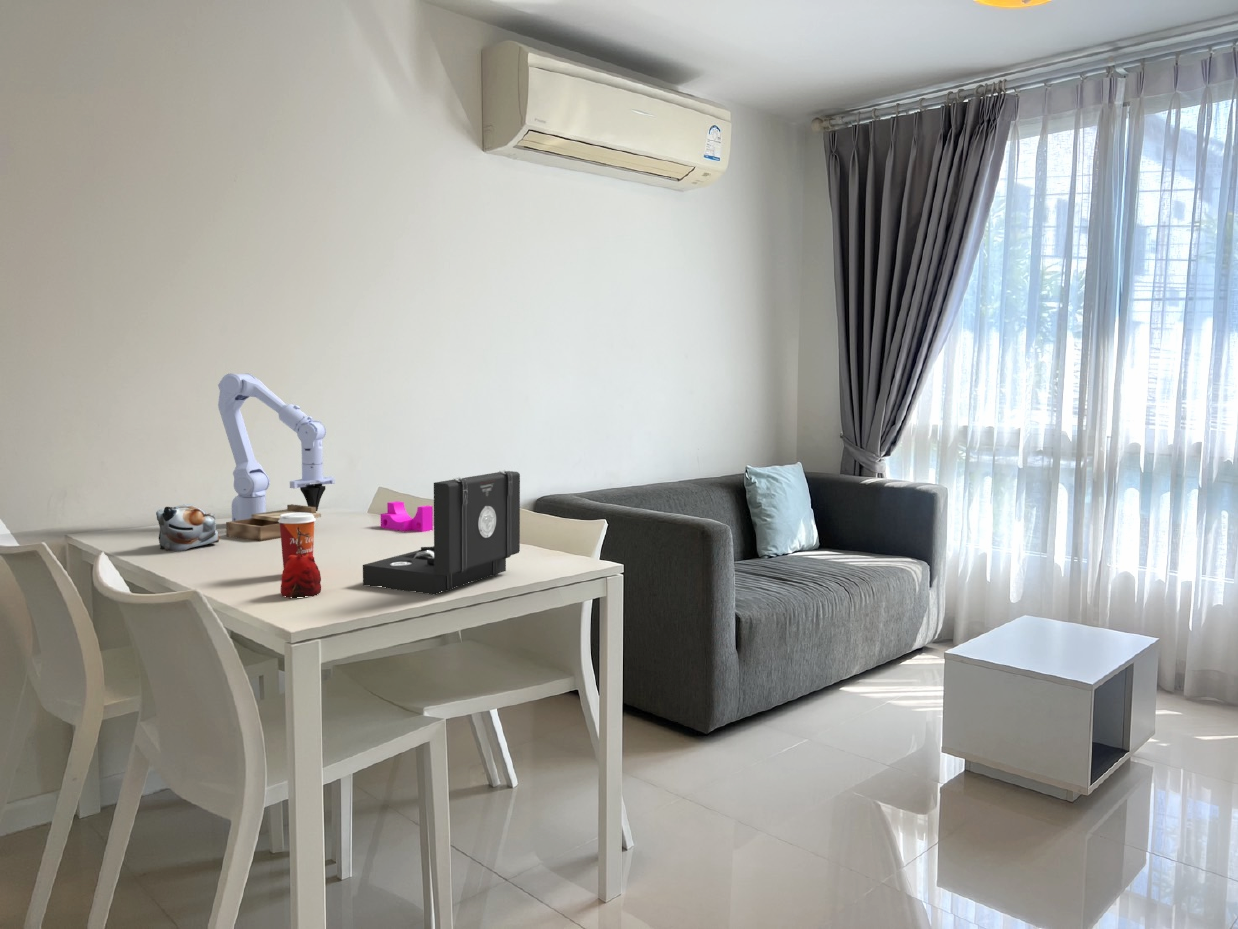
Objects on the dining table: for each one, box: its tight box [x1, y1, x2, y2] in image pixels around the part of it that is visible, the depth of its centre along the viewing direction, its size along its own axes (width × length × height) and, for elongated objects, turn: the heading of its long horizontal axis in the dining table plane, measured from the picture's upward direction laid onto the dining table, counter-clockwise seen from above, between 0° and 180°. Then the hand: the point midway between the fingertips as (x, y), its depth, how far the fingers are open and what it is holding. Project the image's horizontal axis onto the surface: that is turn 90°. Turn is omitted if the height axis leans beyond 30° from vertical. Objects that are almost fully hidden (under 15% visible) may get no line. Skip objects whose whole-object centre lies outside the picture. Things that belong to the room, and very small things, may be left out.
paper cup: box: [278, 512, 317, 569], centre depth 197 cm, size 8×8×14 cm
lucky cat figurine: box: [155, 504, 220, 552], centre depth 228 cm, size 15×12×14 cm
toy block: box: [380, 500, 434, 533], centre depth 260 cm, size 15×6×8 cm, turn 53°
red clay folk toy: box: [280, 526, 322, 598], centre depth 179 cm, size 8×7×15 cm
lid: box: [251, 503, 322, 522], centre depth 254 cm, size 14×12×3 cm
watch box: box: [362, 469, 521, 595], centre depth 195 cm, size 26×28×24 cm
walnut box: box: [225, 518, 281, 542], centre depth 247 cm, size 14×12×4 cm
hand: (313, 511), depth 262 cm, fingers closed
